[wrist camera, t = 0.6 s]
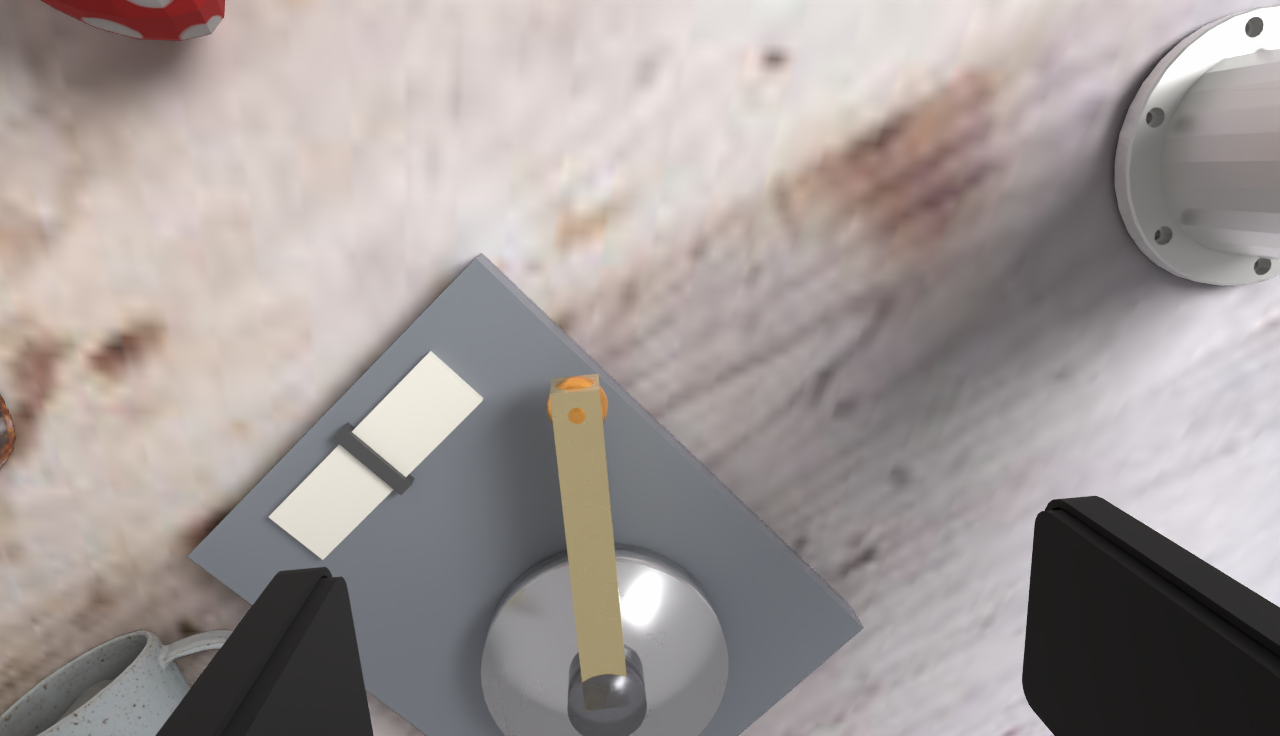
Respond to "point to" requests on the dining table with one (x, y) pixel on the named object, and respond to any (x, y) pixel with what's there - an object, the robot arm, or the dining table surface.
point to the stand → (504, 514)
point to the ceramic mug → (110, 689)
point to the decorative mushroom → (147, 16)
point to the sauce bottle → (5, 433)
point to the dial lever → (600, 614)
